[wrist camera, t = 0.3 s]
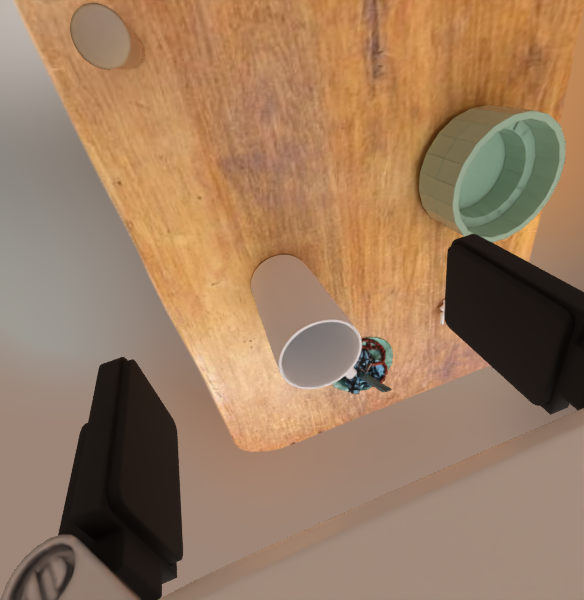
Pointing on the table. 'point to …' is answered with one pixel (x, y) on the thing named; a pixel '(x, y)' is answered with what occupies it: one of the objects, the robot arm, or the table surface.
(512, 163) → the bowl
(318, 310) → the mug
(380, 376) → the dish
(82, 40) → the stick
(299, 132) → the table surface
